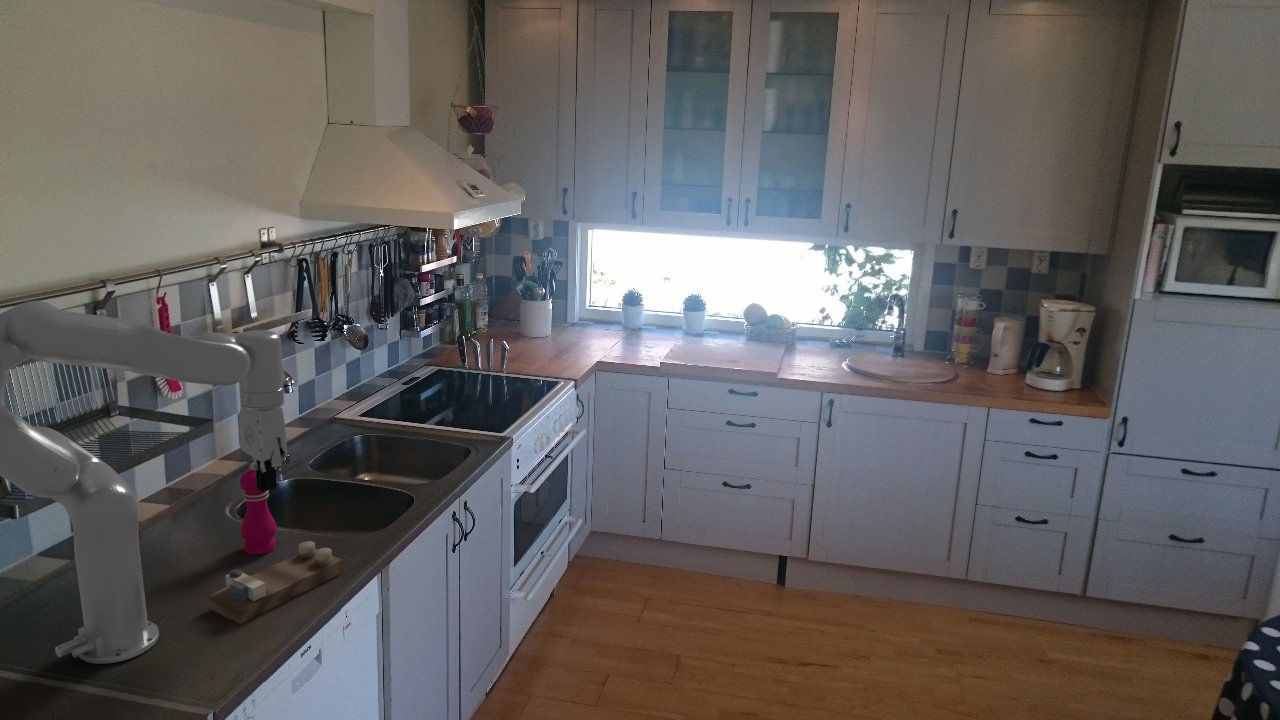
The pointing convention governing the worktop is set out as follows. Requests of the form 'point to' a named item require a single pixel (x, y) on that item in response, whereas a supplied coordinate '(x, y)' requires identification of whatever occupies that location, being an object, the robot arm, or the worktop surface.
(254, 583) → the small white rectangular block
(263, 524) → the pepper mill
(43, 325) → the robot arm
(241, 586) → the rectangular wooden board
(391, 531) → the worktop surface
